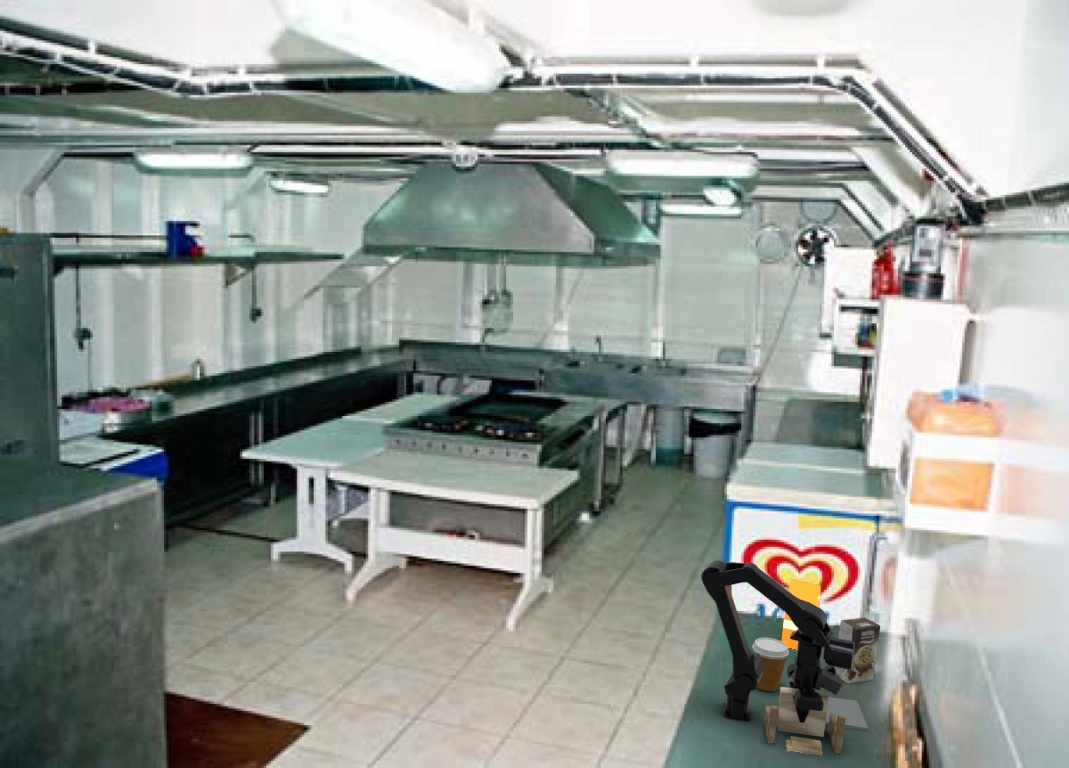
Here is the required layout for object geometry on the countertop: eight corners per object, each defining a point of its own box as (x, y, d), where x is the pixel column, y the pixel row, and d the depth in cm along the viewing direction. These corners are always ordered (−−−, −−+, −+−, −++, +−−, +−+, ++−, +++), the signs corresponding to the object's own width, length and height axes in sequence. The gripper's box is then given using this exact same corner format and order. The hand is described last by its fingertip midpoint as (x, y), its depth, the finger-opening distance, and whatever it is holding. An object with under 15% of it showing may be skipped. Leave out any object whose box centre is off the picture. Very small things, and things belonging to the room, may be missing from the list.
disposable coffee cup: (748, 675, 255) (752, 634, 253) (783, 681, 253) (788, 640, 251) (748, 691, 246) (753, 649, 244) (785, 697, 244) (790, 654, 242)
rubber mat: (794, 695, 245) (794, 692, 245) (856, 703, 243) (857, 700, 243) (801, 721, 232) (801, 718, 232) (867, 730, 230) (867, 727, 229)
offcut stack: (785, 744, 221) (786, 735, 221) (820, 750, 220) (821, 740, 219) (786, 752, 218) (787, 742, 217) (821, 758, 216) (823, 748, 216)
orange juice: (810, 654, 272) (818, 589, 269) (780, 646, 275) (788, 582, 272) (815, 644, 279) (822, 581, 276) (785, 637, 282) (792, 574, 279)
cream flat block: (776, 724, 230) (780, 686, 228) (821, 730, 228) (826, 692, 227) (777, 730, 227) (781, 692, 225) (823, 736, 225) (828, 698, 224)
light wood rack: (763, 722, 230) (767, 688, 229) (834, 732, 228) (838, 698, 226) (767, 743, 220) (771, 708, 219) (841, 753, 218) (845, 718, 217)
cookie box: (848, 684, 254) (855, 629, 251) (832, 673, 260) (839, 619, 257) (874, 680, 258) (881, 625, 255) (857, 669, 263) (864, 616, 261)
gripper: (849, 681, 214) (841, 743, 217) (836, 647, 233) (828, 705, 235) (800, 674, 216) (792, 736, 218) (790, 641, 234) (783, 699, 237)
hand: (800, 719), depth 227 cm, fingers closed on cream flat block, 3 cm apart
